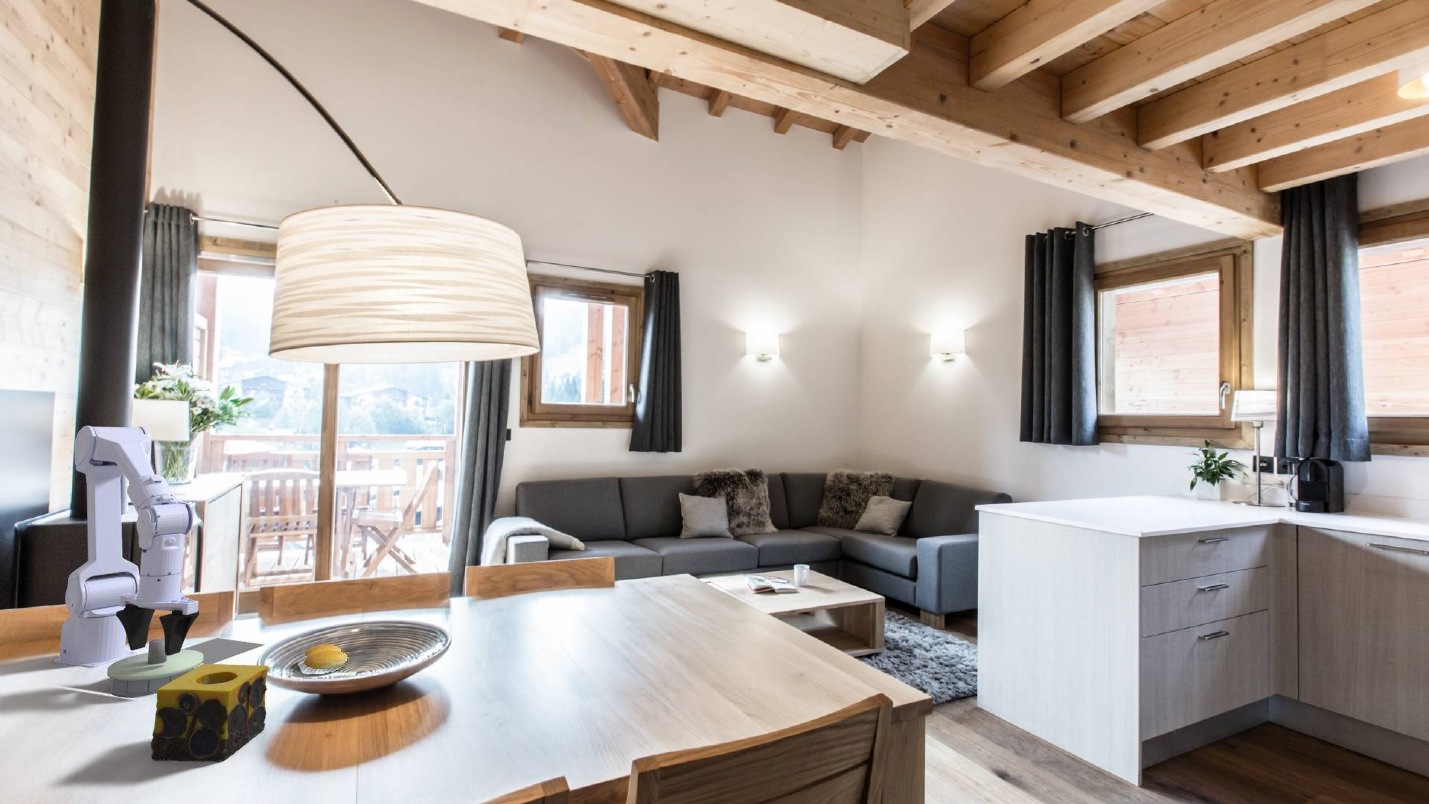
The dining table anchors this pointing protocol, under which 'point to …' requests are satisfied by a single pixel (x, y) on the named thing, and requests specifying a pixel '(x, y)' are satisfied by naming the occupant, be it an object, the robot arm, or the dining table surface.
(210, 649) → the mat
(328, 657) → the bread roll
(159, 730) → the yellow patterned cube
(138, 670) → the lid
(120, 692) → the bowl
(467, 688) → the dining table surface
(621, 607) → the dining table surface
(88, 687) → the dining table surface
